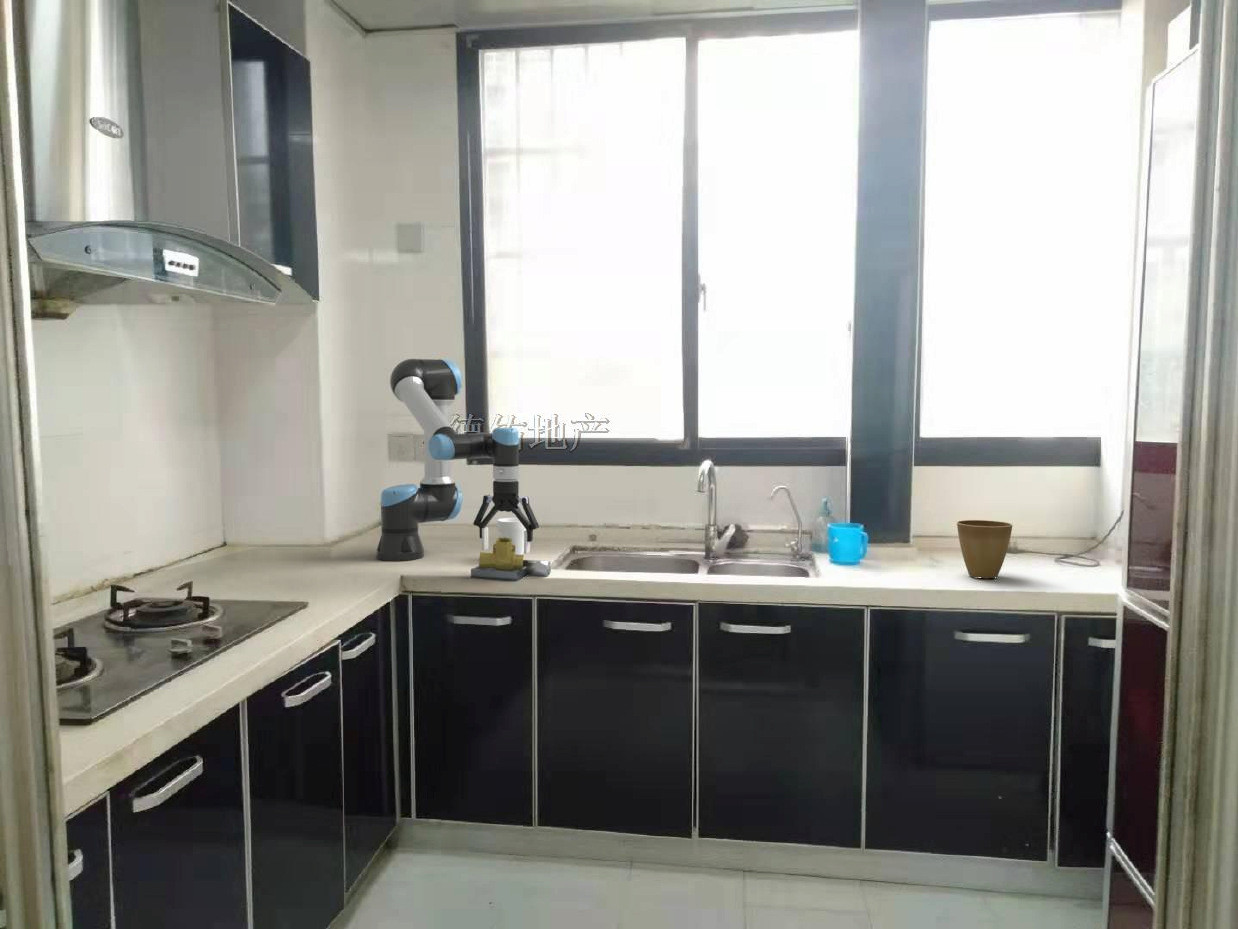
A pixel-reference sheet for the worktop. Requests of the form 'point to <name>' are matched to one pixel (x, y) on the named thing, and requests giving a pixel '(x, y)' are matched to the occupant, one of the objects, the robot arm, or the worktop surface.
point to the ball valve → (502, 556)
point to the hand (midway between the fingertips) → (505, 551)
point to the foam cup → (512, 532)
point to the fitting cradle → (528, 569)
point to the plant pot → (984, 546)
